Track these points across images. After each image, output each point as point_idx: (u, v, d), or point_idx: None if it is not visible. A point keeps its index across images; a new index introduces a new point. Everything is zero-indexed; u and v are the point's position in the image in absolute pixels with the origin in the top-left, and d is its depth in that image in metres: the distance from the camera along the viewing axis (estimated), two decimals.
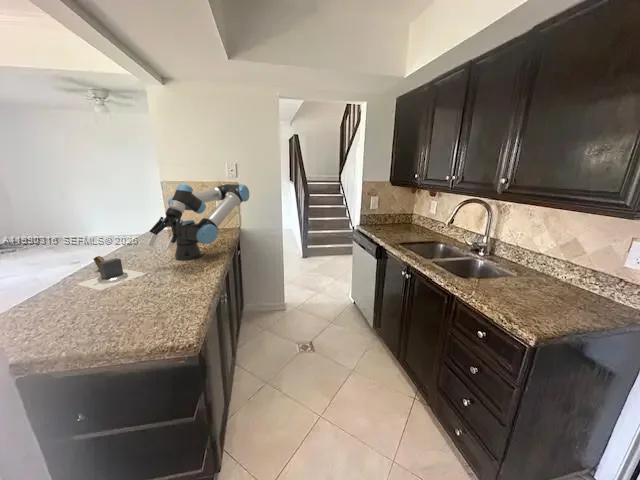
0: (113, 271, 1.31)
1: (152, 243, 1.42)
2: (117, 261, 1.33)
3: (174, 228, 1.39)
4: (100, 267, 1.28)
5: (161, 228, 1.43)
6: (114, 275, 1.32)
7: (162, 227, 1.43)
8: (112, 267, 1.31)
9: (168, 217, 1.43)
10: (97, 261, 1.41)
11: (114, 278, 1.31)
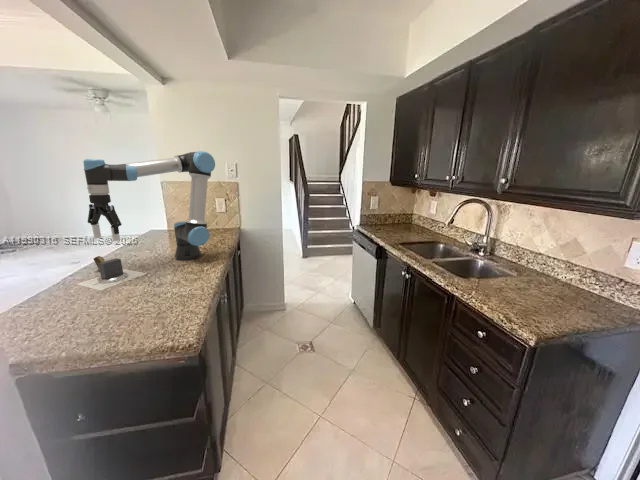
0: (113, 271, 1.31)
1: (99, 234, 1.31)
2: (117, 261, 1.33)
3: (109, 217, 1.24)
4: (100, 267, 1.28)
5: (97, 217, 1.28)
6: (114, 275, 1.32)
7: (97, 216, 1.27)
8: (112, 267, 1.31)
9: (96, 204, 1.24)
10: (97, 261, 1.41)
11: (114, 278, 1.31)
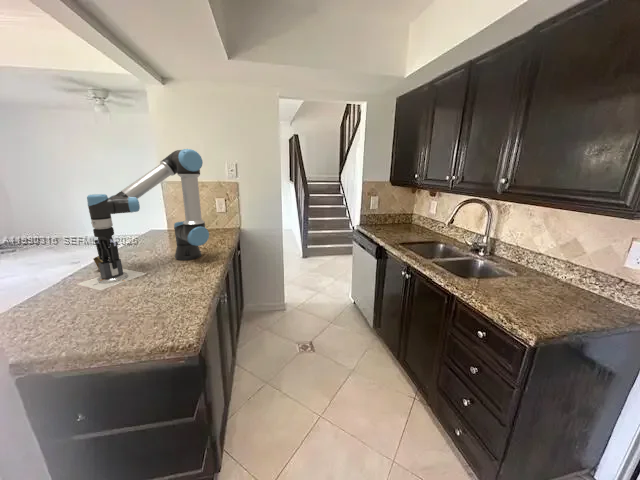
0: None
1: None
2: (117, 261, 1.33)
3: (110, 253, 1.28)
4: (100, 267, 1.28)
5: (105, 251, 1.31)
6: (114, 275, 1.32)
7: (105, 250, 1.30)
8: None
9: None
10: (97, 261, 1.41)
11: (114, 278, 1.31)
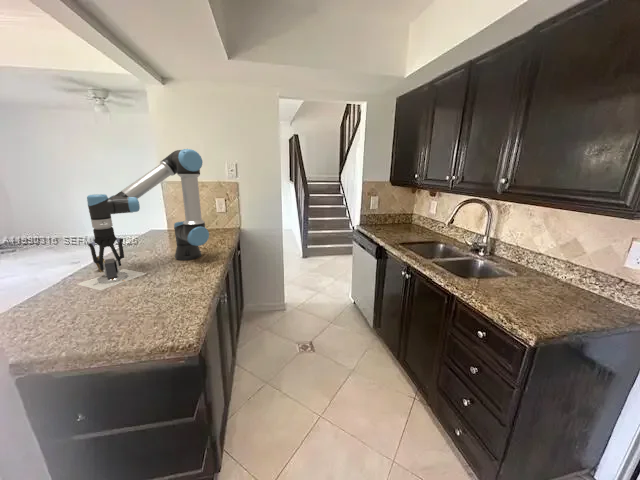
0: (116, 270, 1.33)
1: None
2: (114, 260, 1.34)
3: None
4: (109, 267, 1.28)
5: None
6: (116, 274, 1.34)
7: None
8: (115, 266, 1.33)
9: (100, 237, 1.26)
10: None
11: (121, 275, 1.34)
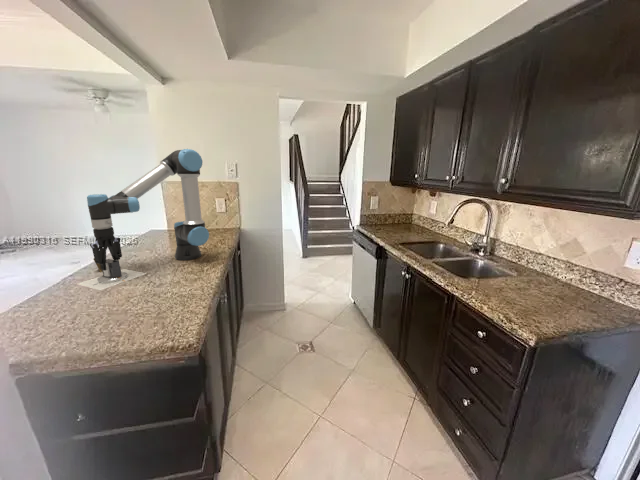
0: None
1: None
2: None
3: (114, 250, 1.33)
4: (114, 266, 1.30)
5: None
6: None
7: None
8: None
9: (102, 237, 1.26)
10: None
11: (122, 274, 1.36)
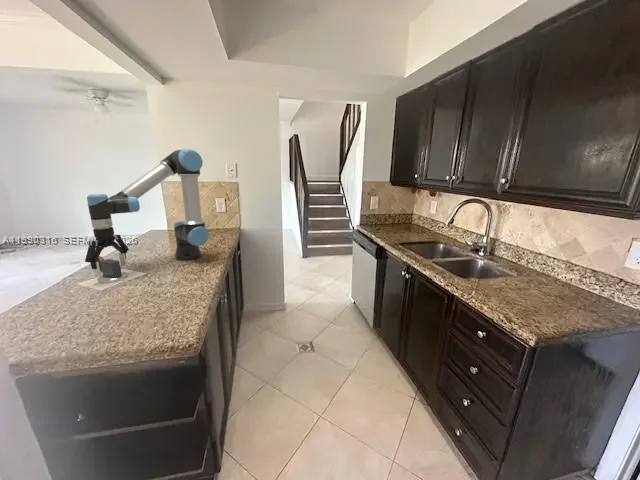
0: None
1: None
2: None
3: (118, 246, 1.35)
4: (115, 266, 1.30)
5: None
6: None
7: None
8: None
9: (104, 238, 1.27)
10: (97, 261, 1.41)
11: (122, 274, 1.36)
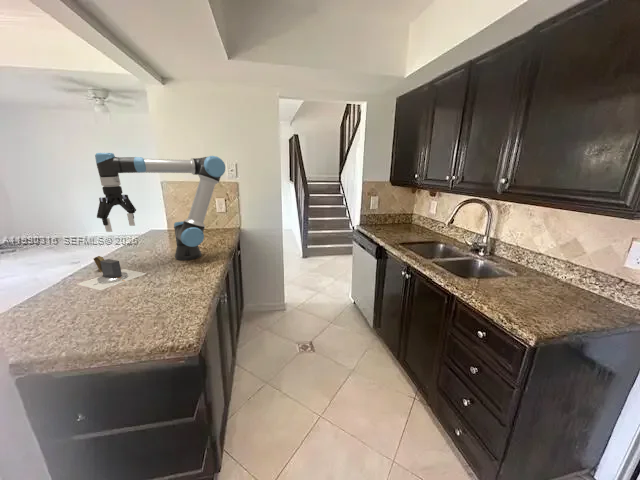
0: None
1: None
2: None
3: None
4: (115, 266, 1.30)
5: None
6: None
7: None
8: None
9: (113, 196, 1.32)
10: (97, 261, 1.41)
11: (122, 274, 1.36)
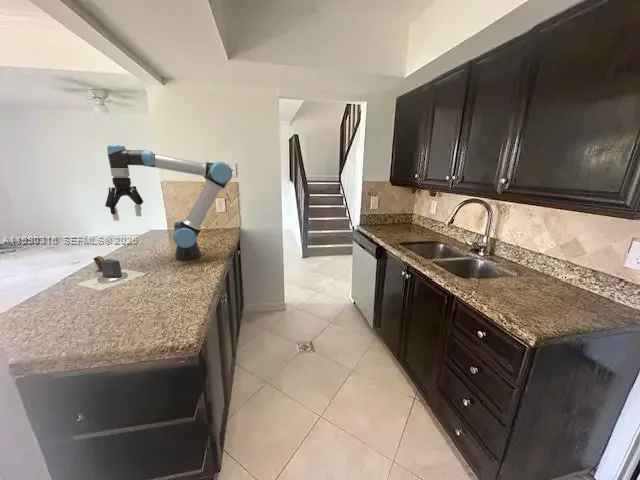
0: None
1: None
2: None
3: (134, 196, 1.46)
4: (115, 266, 1.30)
5: None
6: None
7: None
8: None
9: (122, 187, 1.38)
10: (97, 261, 1.41)
11: (122, 274, 1.36)
